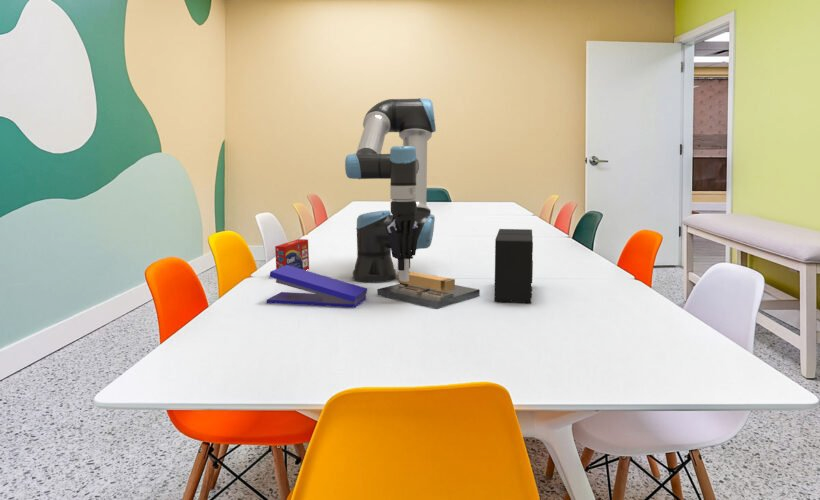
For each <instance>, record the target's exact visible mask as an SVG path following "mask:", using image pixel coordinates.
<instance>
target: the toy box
mask: <svg viewBox="0 0 820 500" xmlns="http://www.w3.org/2000/svg"><path fill="white" fill-rule="evenodd" d="M274 250H275V270H276V269H278V268H281V267H283V266H286V265H289V266H292V267H296V268H299V269H303V270H307V269H309V270H310V257H309V255H310V254H309V253H310V252H309V239H308V238H307V239H303V238H298V239H295V240H291V241H287V242H285V243H281V244H279V245H275V247H274ZM307 271H308V270H307Z"/></svg>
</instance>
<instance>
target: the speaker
mask: <svg viewBox="0 0 820 500" xmlns="http://www.w3.org/2000/svg"><path fill="white" fill-rule="evenodd" d="M533 238H534V237H533V229H531V228H530V229H528V228H527V229H523V228H522V229H521V228H519V229H518V228H516V229H515V228H514V229H513V228H499V229H498V232H497V235H496V236H495V239H494V240H495V241H494V242H495V243H494V244H495V245H494V248H495V249H494V254H495V255H494V299H493V300H494V301H493V302H496V303H500V302H503V303H504V302H507V303H508V302H509V303H524V304H529V303H531V304H532V298H533V293H532V291H533V286H532V284H533V274H534V272H533V271H534V269H533V267H534V261H533V253H534V252H533V250H534V242H533Z"/></svg>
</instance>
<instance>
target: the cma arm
mask: <svg viewBox="0 0 820 500" xmlns="http://www.w3.org/2000/svg"><path fill="white" fill-rule="evenodd" d="M399 283H403V284H410V285H415V286H420V287H425V288H431V289H436V290H441V291H450V290H454V289H455V285H456V279H455V278H449V277H444V276H438V275H431V274H427V273H422V272H421V273H420V272H415V271H410V270H409V281H407V282H404V281H399V271H398V272H397V284H399Z"/></svg>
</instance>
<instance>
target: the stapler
mask: <svg viewBox="0 0 820 500" xmlns="http://www.w3.org/2000/svg"><path fill="white" fill-rule="evenodd" d="M269 277H270V278H273V279H276V280H275V283H276V284H279V285H284V286H287V287H291V288H293V289H298V290H301V291H305V292H289V291H288V292H287V291H281V292H278V293H277V294H274V295H273V296H271V297H268V298H267V299H266V304H280V305H300V306H319V307H337V308H338V307H339V308H357V307H358V306H359V305H361V304H362V303H363V302H365V301H366V300H367V292H368V288H367V287H364V286H359V285H356V284H354V283H351V282H347V281H344V280H340V279H335V278H333V277H330V276H326V275H323V274H319V273H315V272H312V271H309V270H307V271H306V270H303V269H299V268H296V267H292V266H289V265H286V266H283V267H281V268H278V269H276V268H275V269H272V270H270V272H269ZM308 292H309V293H308Z"/></svg>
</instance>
